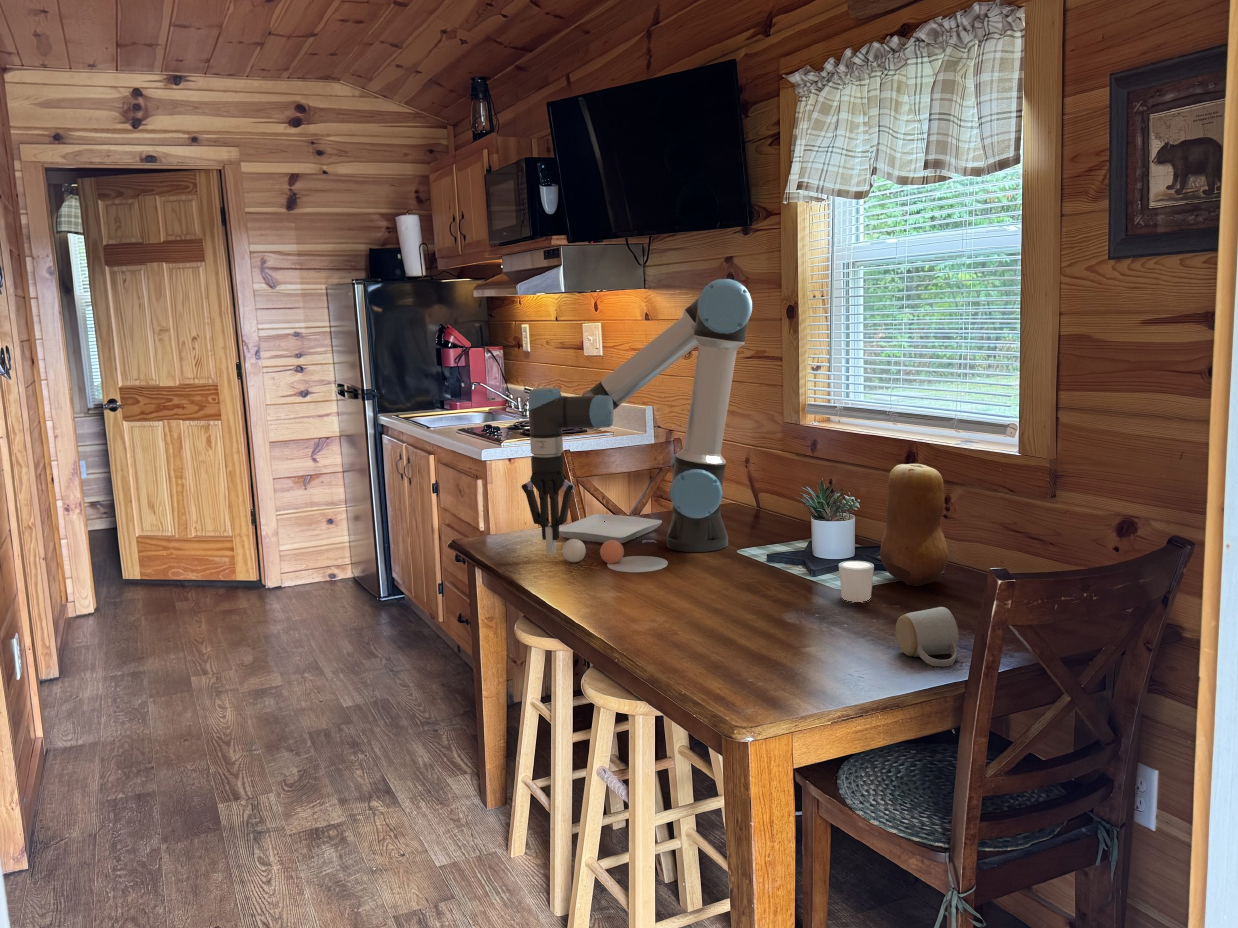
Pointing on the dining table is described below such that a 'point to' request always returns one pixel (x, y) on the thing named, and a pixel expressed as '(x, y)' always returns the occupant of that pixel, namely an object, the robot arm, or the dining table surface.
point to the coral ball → (612, 551)
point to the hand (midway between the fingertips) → (551, 553)
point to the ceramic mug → (928, 635)
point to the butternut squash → (914, 525)
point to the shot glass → (856, 580)
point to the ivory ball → (574, 550)
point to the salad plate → (608, 528)
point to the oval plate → (638, 564)
